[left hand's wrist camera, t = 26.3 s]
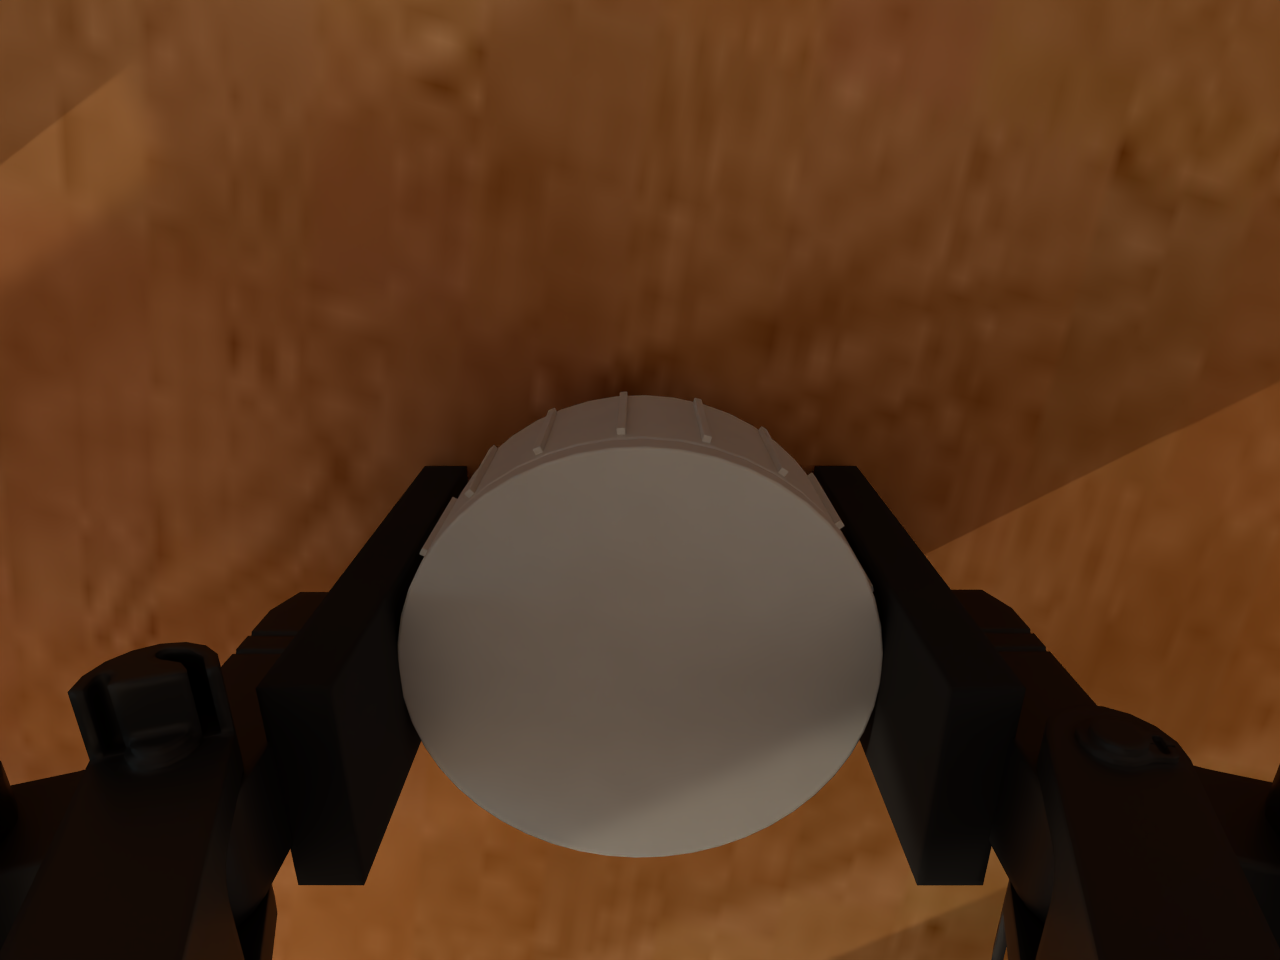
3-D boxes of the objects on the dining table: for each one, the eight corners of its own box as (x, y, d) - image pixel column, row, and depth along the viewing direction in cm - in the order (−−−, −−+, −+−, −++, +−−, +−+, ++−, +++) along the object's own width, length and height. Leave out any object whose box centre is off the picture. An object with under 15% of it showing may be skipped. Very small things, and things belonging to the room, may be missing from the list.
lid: (869, 709, 13) (915, 817, 11) (506, 780, 14) (480, 897, 11) (809, 344, 11) (852, 386, 9) (377, 446, 11) (313, 510, 9)
